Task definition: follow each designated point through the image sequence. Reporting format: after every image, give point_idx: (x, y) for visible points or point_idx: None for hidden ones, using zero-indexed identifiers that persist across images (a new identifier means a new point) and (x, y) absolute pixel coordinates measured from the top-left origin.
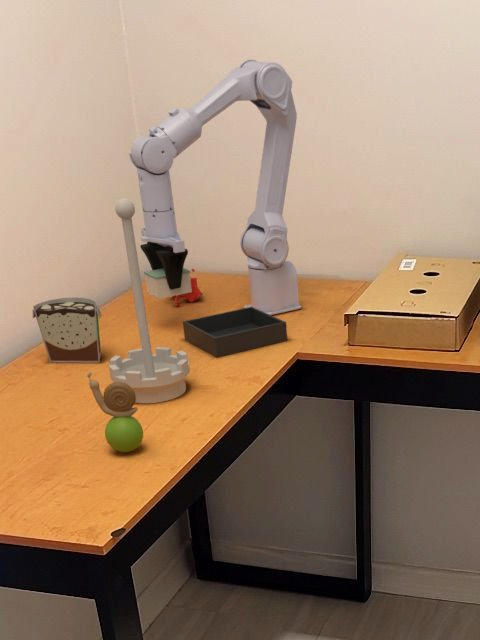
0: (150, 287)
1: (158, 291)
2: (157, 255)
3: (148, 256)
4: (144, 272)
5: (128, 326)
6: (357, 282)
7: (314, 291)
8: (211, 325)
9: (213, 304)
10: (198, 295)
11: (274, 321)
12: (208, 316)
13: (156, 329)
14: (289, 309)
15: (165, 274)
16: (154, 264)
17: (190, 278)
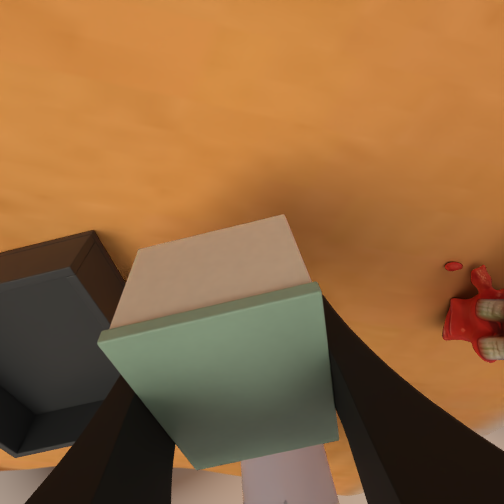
0: (232, 251)
1: (132, 277)
2: (371, 477)
3: (384, 441)
4: (305, 293)
5: (358, 60)
6: (343, 493)
7: (340, 460)
8: None
9: (394, 336)
10: (444, 328)
11: (58, 437)
12: None
13: (257, 164)
14: None
15: (132, 399)
16: (343, 391)
17: (488, 358)
